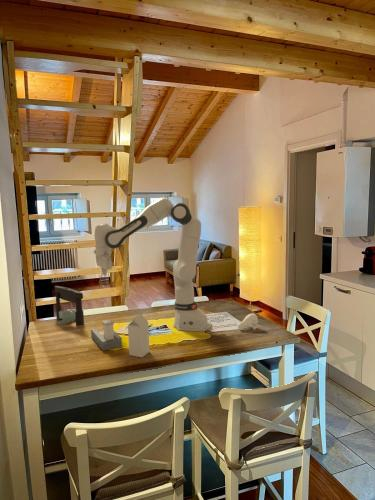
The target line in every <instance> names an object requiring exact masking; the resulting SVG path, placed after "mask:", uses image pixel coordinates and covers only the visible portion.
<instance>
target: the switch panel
mask: <svg viewBox="0 0 375 500" xmlns="http://www.w3.org/2000/svg"><path fill="white" fill-rule="evenodd" d="M90 335H91V336H90V337H91V338H92V340H93V341H94V342H95V343H96V344H97V345H98V347H99V348H100V349H101V350H102V351H107V350H108V351H109V350H111V349H116V347H117V348H121V347H123V339H122V338H123V337H122V336H120V335H119V334H118V333H117V332H116V331H115V330H114V339H112V340H107V341H106V340H105V339H104V328H102V329H98V330H97V329H96V328H91V329H90ZM120 346H121V347H120Z"/></svg>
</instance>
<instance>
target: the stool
mask: <svg viewBox="0 0 375 500" xmlns="http://www.w3.org/2000/svg"><path fill="white" fill-rule="evenodd" d="M54 292H55V304H56V306H55V313H56V315H55V316H56V319H58V321H57V322H58V325H62V324H63V323H64V324H65V323H66V324H67V323H72V322H74V321H75V325H76V326H81V325H84V324H85V319H84V318H85V316H84V309H83V298H84V294H83V292H81V291H79V290H76V289H73V288H70V287H65V286H59V285H54ZM61 300H64V301H67V302H70V303H73V304H75V309H74V308H73V309H70V308H68V309H67V308H66V309H64V310H62V305H61Z"/></svg>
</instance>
